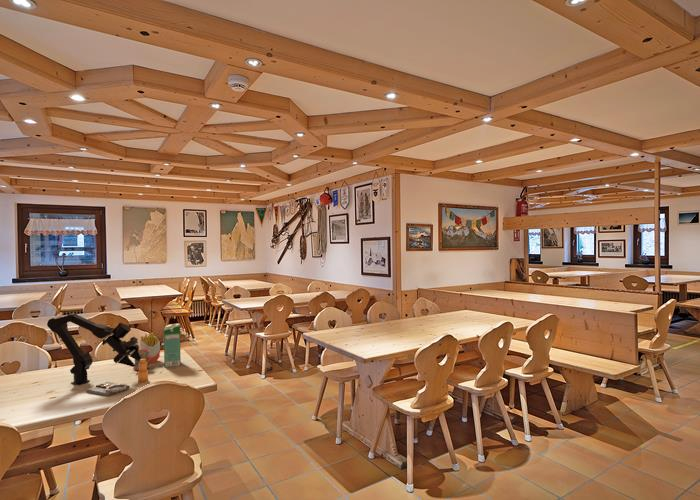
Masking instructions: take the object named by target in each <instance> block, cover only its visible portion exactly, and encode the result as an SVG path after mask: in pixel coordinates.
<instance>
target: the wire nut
mask: <svg viewBox="0 0 700 500" xmlns="http://www.w3.org/2000/svg"><path fill="white" fill-rule="evenodd" d="M148 381H149V369H148V368H147V362H146V359H140V363H139V370H137V382H138V383H140V384H141V383H147V382H148Z"/></svg>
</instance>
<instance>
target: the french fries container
mask: <svg viewBox="0 0 700 500" xmlns="http://www.w3.org/2000/svg"><path fill="white" fill-rule="evenodd" d="M139 341H140V343H139V344H140V345H139V350H142V349H147V350H149V353H148V354H150V355H151V359H150V356H149V355H148V357H147V362H148V361H149V359H150V361H149V362H148V365H150V364H153V363H157V362H158V360H159V358H160V357H161V355H160V354H161V350H160V340H159V338H158V336H157V335H155V334H154V332H151V333H148V334H146V333H145V334H144V336H143V335H142V336H140V340H139Z"/></svg>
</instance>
